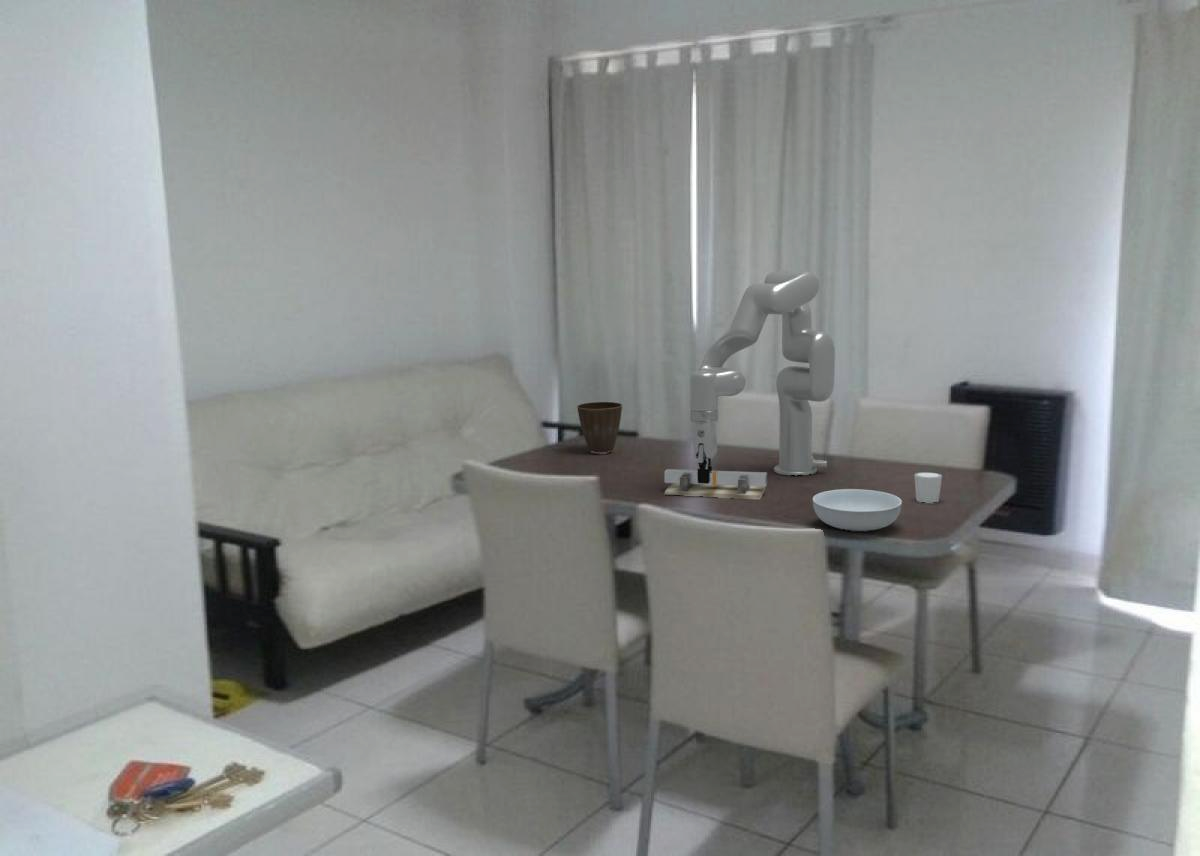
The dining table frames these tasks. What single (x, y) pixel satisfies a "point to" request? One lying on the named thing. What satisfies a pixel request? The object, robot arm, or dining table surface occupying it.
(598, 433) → the plant pot
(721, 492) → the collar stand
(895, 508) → the serving bowl
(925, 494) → the white cup
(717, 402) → the robot arm
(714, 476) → the white banded bar
